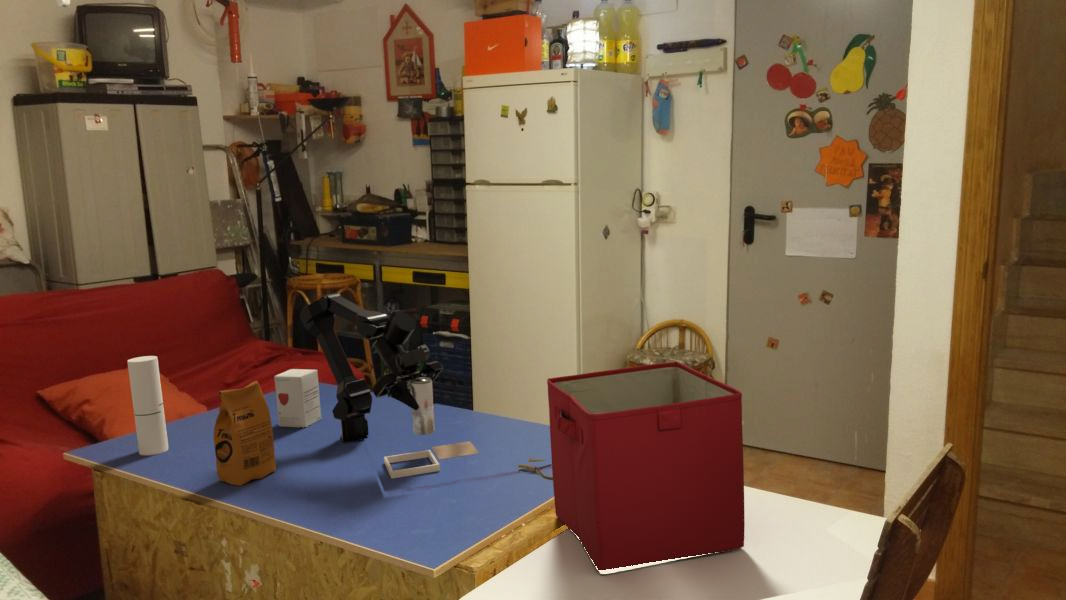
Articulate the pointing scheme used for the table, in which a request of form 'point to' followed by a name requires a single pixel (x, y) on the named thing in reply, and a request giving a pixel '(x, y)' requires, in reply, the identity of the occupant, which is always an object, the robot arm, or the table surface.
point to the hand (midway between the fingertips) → (426, 406)
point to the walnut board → (454, 450)
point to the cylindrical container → (148, 405)
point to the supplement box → (297, 398)
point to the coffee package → (243, 436)
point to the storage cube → (647, 463)
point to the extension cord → (533, 467)
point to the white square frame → (411, 471)
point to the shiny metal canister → (423, 406)
